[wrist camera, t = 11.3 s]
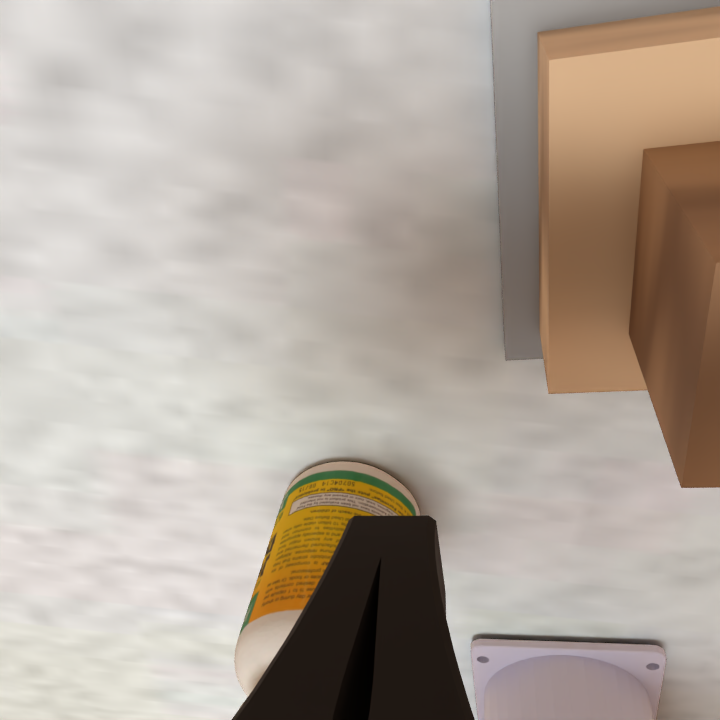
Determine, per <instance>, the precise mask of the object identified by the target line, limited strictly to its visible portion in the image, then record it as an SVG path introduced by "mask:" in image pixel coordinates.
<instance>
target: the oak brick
mask: <svg viewBox="0 0 720 720" xmlns="http://www.w3.org/2000/svg"><path fill="white" fill-rule="evenodd" d="M537 39H538V187H539V331H540V338H541V345H542V352H543V358H544V365H545V372H546V379H547V386H548V393H549V394H556V393H583V392H611V391H638V390H648V389H647V386H646V383H645V380H644V377H643V375H642V372H641V369H640V366H639V363H638V360H637V357H636V354H635V351H634V348H633V345H632V342H631V339H630V337H629V322H630V310H631V297H632V285H633V272H634V260H635V247H636V235H637V222H638V209H639V197H640V184H641V172H642V159H643V149H647V148H657V147H666V146H676V145H685V144H695V143H704V142H714V141H720V6H718V7H711V8H704V9H697V10H690V11H683V12H676V13H669V14H662V15H655V16H648V17H641V18H634V19H626V20H619V21H612V22H605V23H598V24H591V25H584V26H577V27H570V28H563V29H556V30H549V31H542V32H537Z"/></svg>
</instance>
